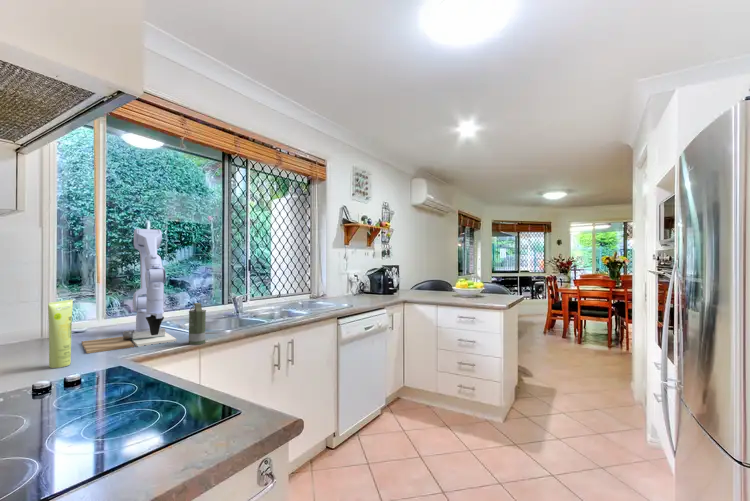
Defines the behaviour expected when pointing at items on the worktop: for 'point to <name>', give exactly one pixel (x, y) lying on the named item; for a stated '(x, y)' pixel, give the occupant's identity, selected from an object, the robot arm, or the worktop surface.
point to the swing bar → (141, 334)
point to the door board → (153, 339)
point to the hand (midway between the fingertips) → (154, 334)
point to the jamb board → (106, 344)
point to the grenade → (197, 325)
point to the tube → (60, 333)
